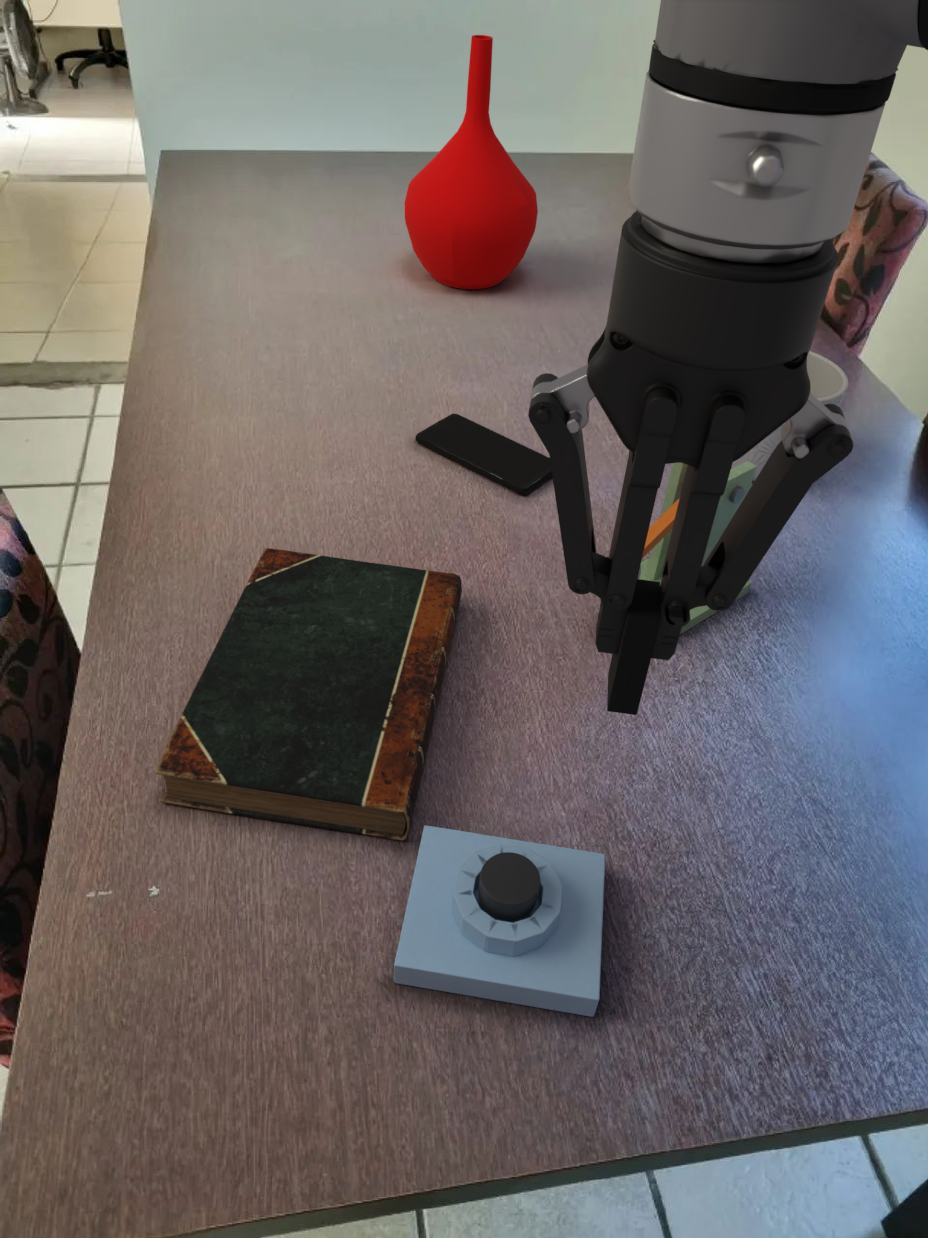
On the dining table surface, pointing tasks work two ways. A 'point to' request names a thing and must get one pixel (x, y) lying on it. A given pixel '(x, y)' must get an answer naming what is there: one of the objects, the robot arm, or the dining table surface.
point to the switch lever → (658, 530)
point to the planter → (824, 387)
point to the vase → (471, 196)
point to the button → (509, 886)
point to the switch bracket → (726, 509)
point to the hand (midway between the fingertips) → (622, 693)
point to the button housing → (504, 925)
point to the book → (318, 696)
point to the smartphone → (487, 453)
